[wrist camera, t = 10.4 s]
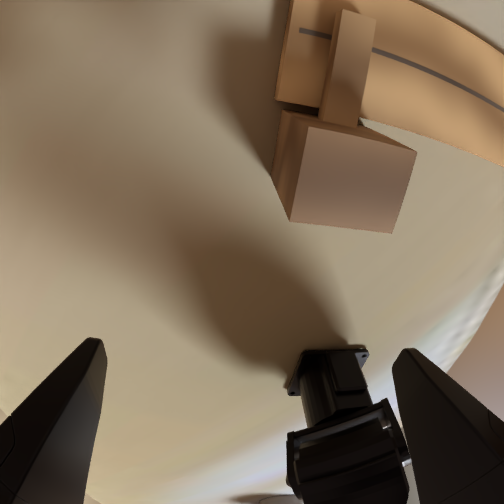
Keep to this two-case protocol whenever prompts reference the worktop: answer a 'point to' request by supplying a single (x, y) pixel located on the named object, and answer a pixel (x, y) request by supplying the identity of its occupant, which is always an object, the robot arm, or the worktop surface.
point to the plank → (404, 72)
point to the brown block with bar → (341, 146)
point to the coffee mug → (282, 500)
